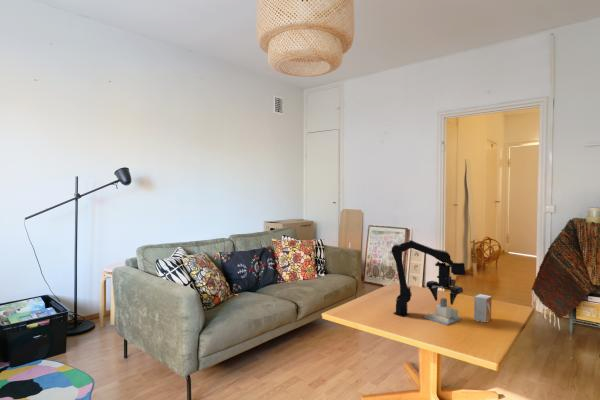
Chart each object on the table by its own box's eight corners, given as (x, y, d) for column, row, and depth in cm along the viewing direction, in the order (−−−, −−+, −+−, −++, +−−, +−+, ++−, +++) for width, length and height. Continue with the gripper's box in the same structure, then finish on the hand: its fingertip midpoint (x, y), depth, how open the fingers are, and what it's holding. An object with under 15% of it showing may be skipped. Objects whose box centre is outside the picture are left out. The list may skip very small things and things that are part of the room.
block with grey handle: (446, 319, 191) (446, 301, 191) (435, 316, 196) (436, 298, 196) (451, 317, 194) (451, 299, 194) (441, 314, 199) (441, 296, 199)
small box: (486, 323, 188) (486, 299, 187) (473, 320, 192) (474, 296, 192) (491, 319, 193) (491, 296, 193) (479, 316, 198) (479, 293, 198)
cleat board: (447, 325, 184) (447, 314, 184) (423, 317, 196) (423, 308, 195) (461, 319, 193) (461, 309, 193) (438, 312, 204) (438, 303, 204)
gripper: (468, 275, 192) (468, 304, 192) (437, 269, 207) (436, 296, 207) (457, 278, 185) (457, 308, 185) (425, 272, 200) (425, 299, 200)
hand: (443, 302), depth 195 cm, fingers open, 9 cm apart
